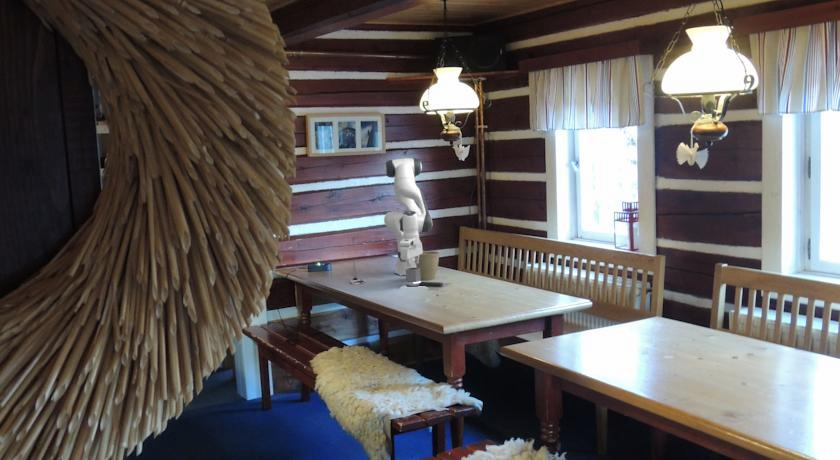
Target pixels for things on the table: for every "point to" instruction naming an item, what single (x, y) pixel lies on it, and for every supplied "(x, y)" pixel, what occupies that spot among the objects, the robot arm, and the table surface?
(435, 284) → the ratchet
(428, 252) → the plant pot
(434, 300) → the table surface
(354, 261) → the tow hook
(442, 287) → the mat
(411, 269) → the hollow square tube
